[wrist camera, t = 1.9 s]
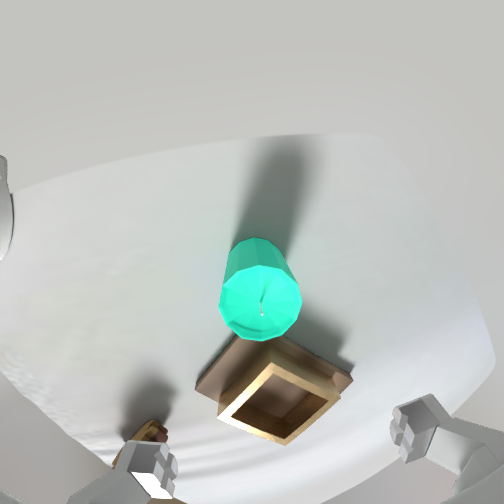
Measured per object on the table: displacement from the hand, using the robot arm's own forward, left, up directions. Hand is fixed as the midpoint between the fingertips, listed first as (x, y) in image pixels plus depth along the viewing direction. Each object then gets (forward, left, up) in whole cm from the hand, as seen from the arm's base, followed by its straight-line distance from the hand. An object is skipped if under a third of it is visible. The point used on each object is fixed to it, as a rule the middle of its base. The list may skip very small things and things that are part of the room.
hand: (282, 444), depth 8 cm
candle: (0, 0, -23) cm, 23 cm away
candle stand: (+11, -11, -23) cm, 28 cm away
